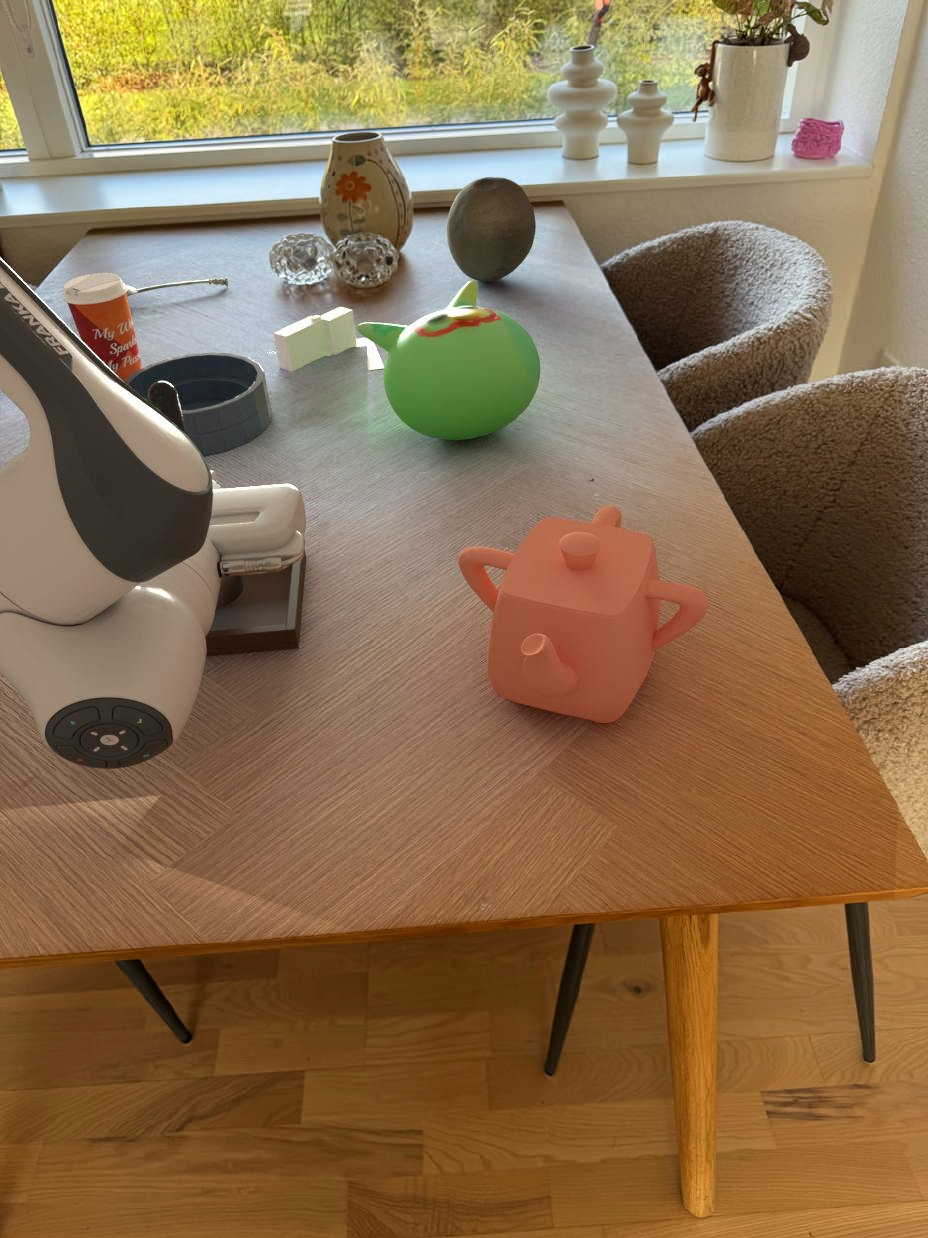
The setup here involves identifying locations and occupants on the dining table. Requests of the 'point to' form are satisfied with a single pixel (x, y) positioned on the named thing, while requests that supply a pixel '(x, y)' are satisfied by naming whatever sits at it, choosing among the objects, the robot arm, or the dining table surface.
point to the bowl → (213, 397)
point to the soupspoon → (214, 281)
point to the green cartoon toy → (458, 369)
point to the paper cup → (105, 320)
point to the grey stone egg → (490, 228)
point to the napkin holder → (321, 340)
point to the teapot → (577, 615)
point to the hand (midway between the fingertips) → (185, 480)
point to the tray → (261, 614)
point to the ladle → (169, 405)
